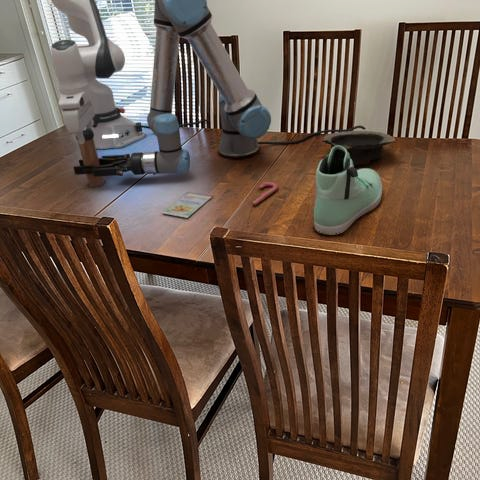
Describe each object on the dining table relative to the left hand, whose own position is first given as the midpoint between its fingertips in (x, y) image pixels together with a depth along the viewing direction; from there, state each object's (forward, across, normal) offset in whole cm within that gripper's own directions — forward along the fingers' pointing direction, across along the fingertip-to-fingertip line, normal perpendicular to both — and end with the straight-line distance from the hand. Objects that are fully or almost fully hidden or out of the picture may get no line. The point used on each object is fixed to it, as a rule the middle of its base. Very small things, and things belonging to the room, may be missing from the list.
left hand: (86, 138), depth 159 cm
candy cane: (+16, +19, +57) cm, 62 cm away
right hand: (+10, 0, -6) cm, 11 cm away
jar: (+16, 0, 0) cm, 16 cm away
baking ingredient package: (+16, +22, +34) cm, 43 cm away
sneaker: (+16, +31, +81) cm, 88 cm away
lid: (-2, 0, 0) cm, 2 cm away
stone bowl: (+16, -7, +92) cm, 93 cm away
